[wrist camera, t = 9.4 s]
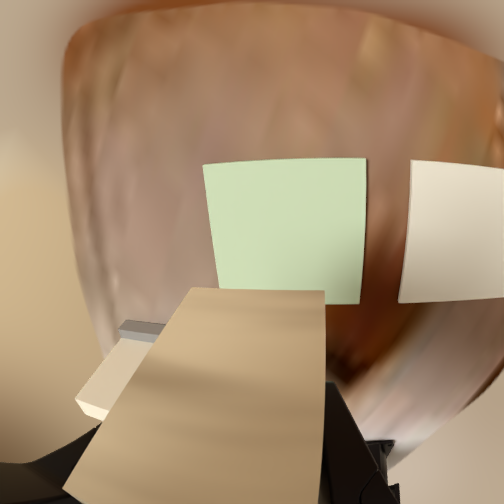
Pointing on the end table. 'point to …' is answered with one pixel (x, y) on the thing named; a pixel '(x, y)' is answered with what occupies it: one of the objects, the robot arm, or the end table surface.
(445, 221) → the cream mat
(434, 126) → the end table surface
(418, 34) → the end table surface
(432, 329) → the end table surface
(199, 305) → the block
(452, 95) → the end table surface
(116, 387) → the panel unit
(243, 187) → the sage mat
